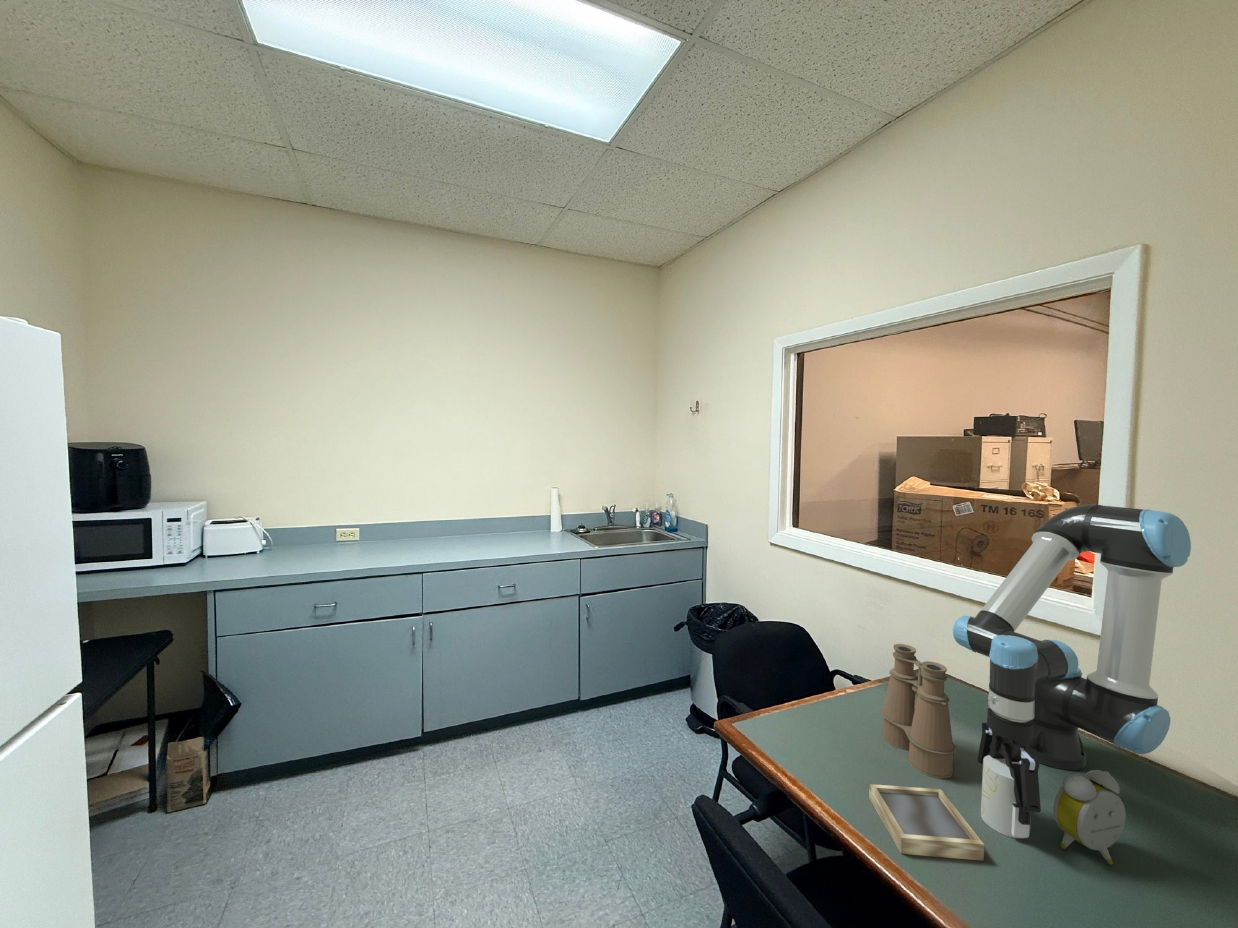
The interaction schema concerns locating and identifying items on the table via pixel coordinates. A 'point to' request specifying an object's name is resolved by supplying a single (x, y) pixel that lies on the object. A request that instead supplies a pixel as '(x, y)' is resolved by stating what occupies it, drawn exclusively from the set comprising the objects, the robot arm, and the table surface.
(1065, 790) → the alarm clock
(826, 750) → the table surface
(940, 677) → the binoculars
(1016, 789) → the robot arm
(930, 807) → the square picture frame
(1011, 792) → the white cylinder
